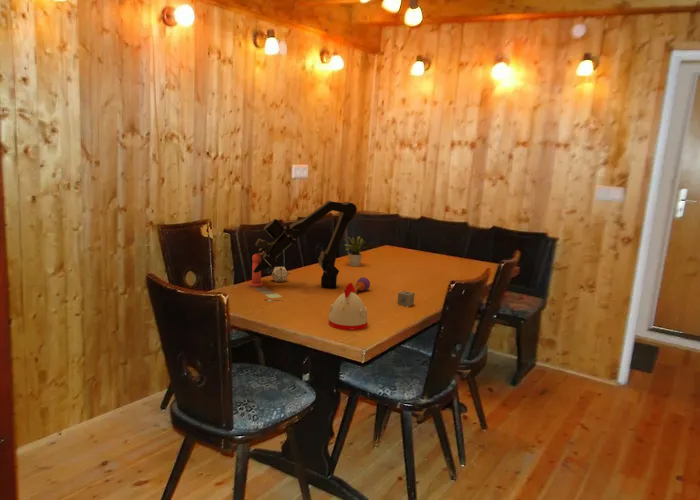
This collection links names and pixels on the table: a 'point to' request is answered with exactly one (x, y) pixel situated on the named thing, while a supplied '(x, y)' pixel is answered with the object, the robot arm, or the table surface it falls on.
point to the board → (271, 295)
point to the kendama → (362, 284)
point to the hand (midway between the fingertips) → (253, 270)
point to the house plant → (355, 252)
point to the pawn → (256, 276)
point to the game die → (279, 274)
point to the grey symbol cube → (406, 298)
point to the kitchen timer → (348, 311)
